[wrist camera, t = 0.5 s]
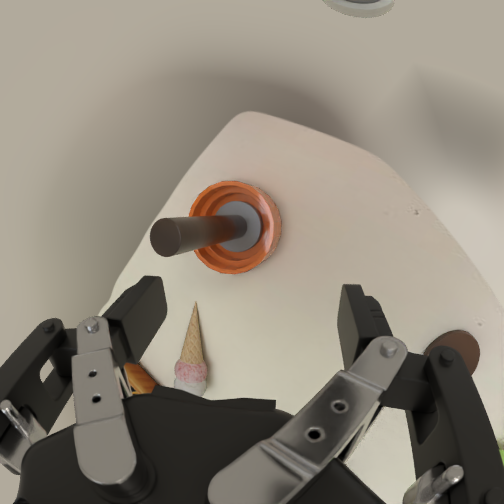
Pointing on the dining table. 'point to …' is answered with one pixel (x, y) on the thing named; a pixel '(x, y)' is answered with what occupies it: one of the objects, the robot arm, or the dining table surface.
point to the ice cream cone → (191, 361)
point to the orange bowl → (268, 210)
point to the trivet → (460, 347)
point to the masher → (209, 230)
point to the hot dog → (139, 379)
